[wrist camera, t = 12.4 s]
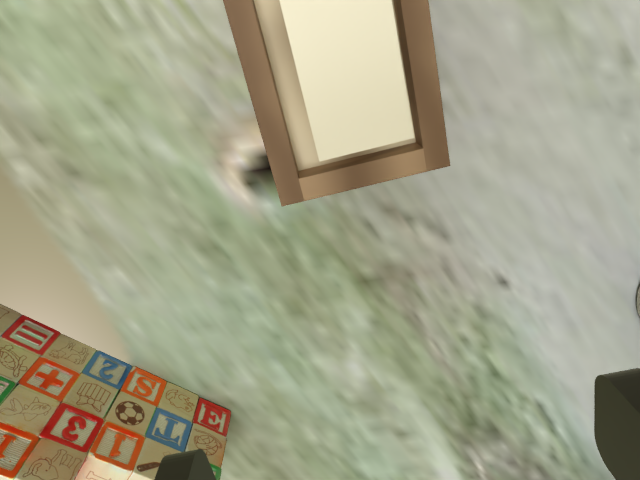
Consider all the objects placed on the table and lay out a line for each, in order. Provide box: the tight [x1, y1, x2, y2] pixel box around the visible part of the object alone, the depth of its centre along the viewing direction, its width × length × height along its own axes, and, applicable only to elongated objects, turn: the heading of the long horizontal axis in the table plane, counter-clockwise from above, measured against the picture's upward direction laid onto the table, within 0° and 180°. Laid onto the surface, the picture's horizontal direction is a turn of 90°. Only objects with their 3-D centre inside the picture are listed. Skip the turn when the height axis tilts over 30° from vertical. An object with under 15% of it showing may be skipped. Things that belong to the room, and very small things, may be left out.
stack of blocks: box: [0, 304, 231, 480], centre depth 34 cm, size 21×6×12 cm, turn 57°
